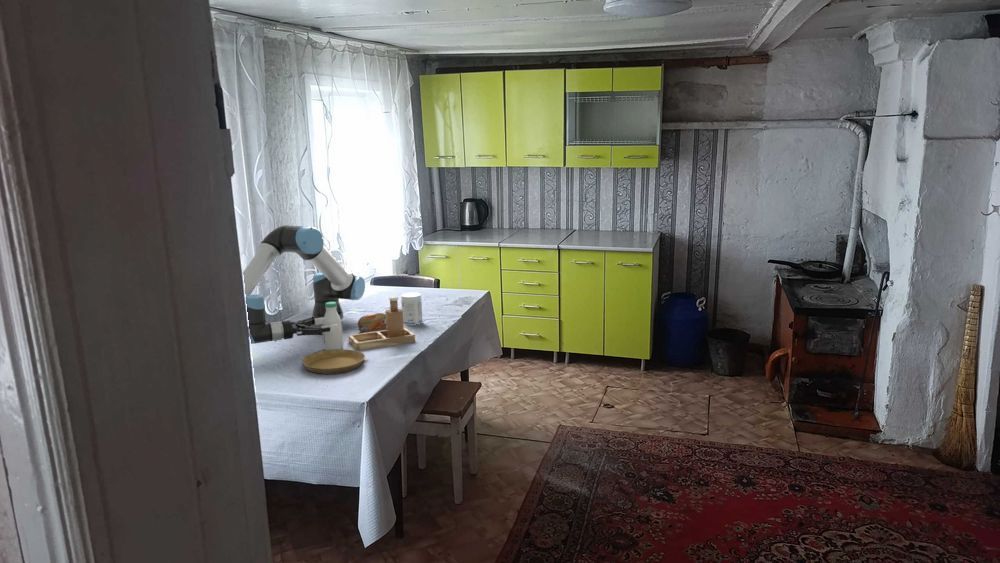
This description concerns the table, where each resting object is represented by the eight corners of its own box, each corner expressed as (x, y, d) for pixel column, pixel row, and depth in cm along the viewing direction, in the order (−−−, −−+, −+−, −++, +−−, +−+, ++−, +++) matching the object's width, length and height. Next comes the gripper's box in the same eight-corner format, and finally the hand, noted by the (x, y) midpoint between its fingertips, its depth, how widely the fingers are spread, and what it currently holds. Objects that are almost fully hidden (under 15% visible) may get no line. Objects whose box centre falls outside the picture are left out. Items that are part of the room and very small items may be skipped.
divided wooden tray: (348, 344, 291) (348, 335, 290) (405, 335, 302) (404, 327, 301) (357, 352, 279) (356, 343, 278) (415, 343, 290) (414, 334, 289)
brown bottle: (384, 338, 295) (382, 296, 291) (401, 336, 298) (399, 294, 294) (389, 343, 288) (387, 300, 284) (406, 340, 291) (404, 298, 287)
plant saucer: (339, 352, 280) (339, 344, 280) (377, 364, 265) (377, 356, 265) (289, 367, 262) (289, 359, 262) (327, 381, 247) (326, 372, 247)
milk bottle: (346, 347, 287) (344, 301, 282) (333, 352, 280) (330, 305, 276) (333, 344, 290) (330, 299, 286) (320, 349, 284) (317, 303, 280)
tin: (360, 335, 303) (359, 317, 301) (357, 334, 305) (356, 316, 304) (389, 329, 312) (388, 312, 311) (386, 328, 315) (385, 310, 313)
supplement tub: (415, 320, 327) (414, 291, 324) (426, 324, 320) (425, 294, 316) (398, 324, 321) (397, 294, 318) (409, 328, 314) (407, 297, 310)
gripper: (277, 331, 285) (328, 325, 295) (287, 347, 264) (341, 339, 273) (276, 314, 284) (326, 308, 293) (286, 329, 262) (340, 322, 271)
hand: (334, 323), depth 283 cm, fingers open, 13 cm apart
